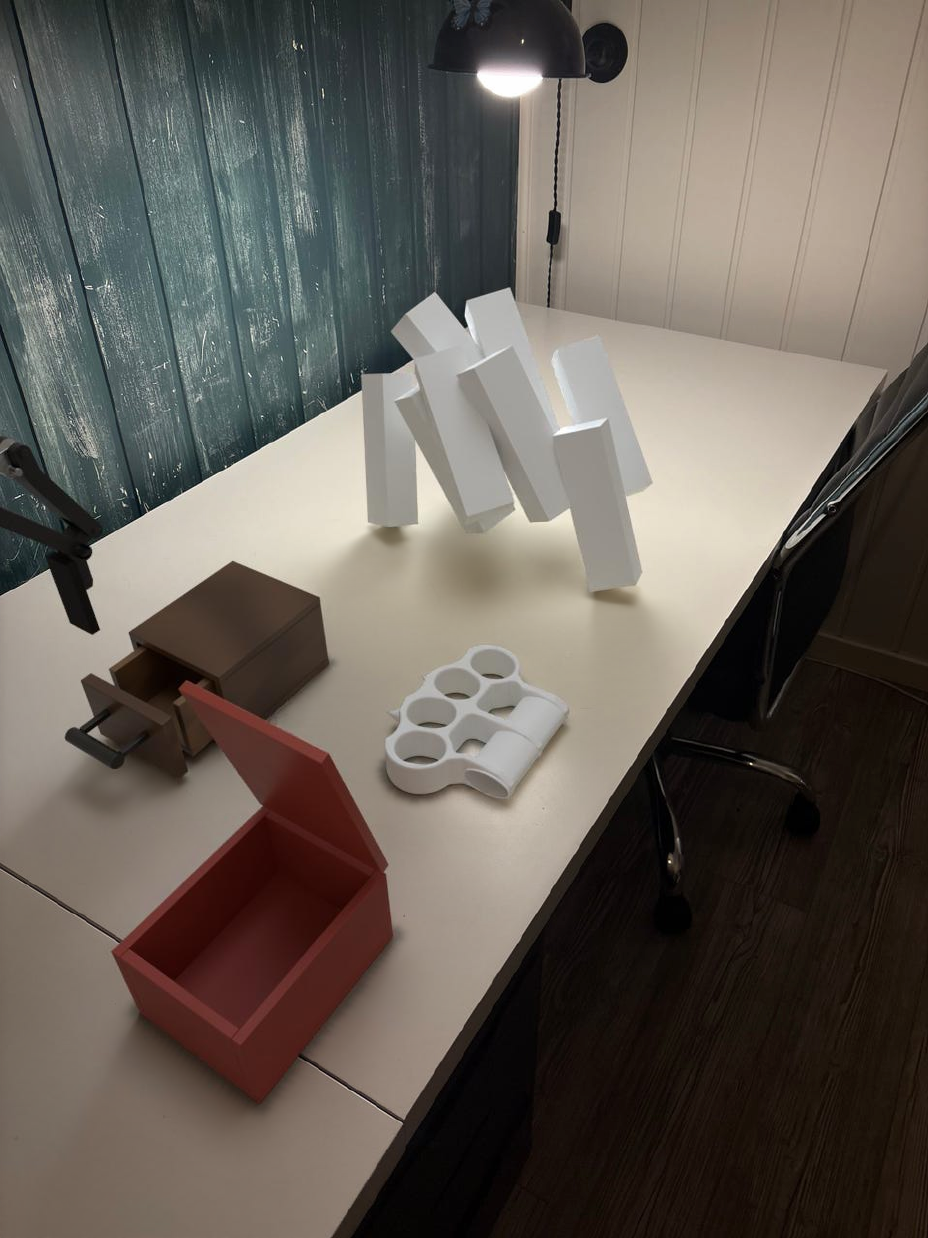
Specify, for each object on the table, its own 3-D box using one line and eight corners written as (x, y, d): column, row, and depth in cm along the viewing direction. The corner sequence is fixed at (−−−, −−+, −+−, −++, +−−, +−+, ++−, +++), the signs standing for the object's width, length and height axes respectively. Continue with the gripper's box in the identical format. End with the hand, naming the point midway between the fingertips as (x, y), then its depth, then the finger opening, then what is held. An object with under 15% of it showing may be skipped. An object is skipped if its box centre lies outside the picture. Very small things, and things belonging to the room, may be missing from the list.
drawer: (141, 811, 78) (121, 757, 74) (62, 762, 82) (39, 708, 78) (275, 697, 89) (264, 643, 84) (199, 659, 93) (185, 606, 89)
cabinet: (235, 746, 85) (218, 677, 80) (149, 699, 90) (127, 632, 85) (329, 663, 94) (320, 596, 88) (246, 625, 99) (232, 560, 93)
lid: (320, 763, 52) (329, 752, 52) (177, 689, 57) (186, 679, 57) (382, 874, 64) (389, 864, 64) (259, 804, 69) (266, 796, 69)
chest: (260, 1104, 60) (240, 1046, 55) (139, 1012, 65) (110, 951, 60) (393, 936, 69) (386, 873, 64) (278, 867, 74) (264, 804, 69)
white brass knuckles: (490, 833, 77) (349, 766, 83) (583, 703, 89) (454, 653, 95) (490, 806, 75) (346, 740, 81) (585, 678, 86) (454, 628, 93)
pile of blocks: (679, 549, 118) (643, 266, 111) (649, 602, 91) (599, 231, 84) (430, 578, 130) (384, 325, 123) (337, 633, 103) (271, 311, 96)
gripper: (-314, 528, 44) (-128, 811, 58) (102, 351, 60) (173, 604, 74) (-380, 485, 48) (-189, 762, 61) (32, 328, 64) (111, 575, 77)
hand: (9, 676), depth 67 cm, fingers open, 13 cm apart
